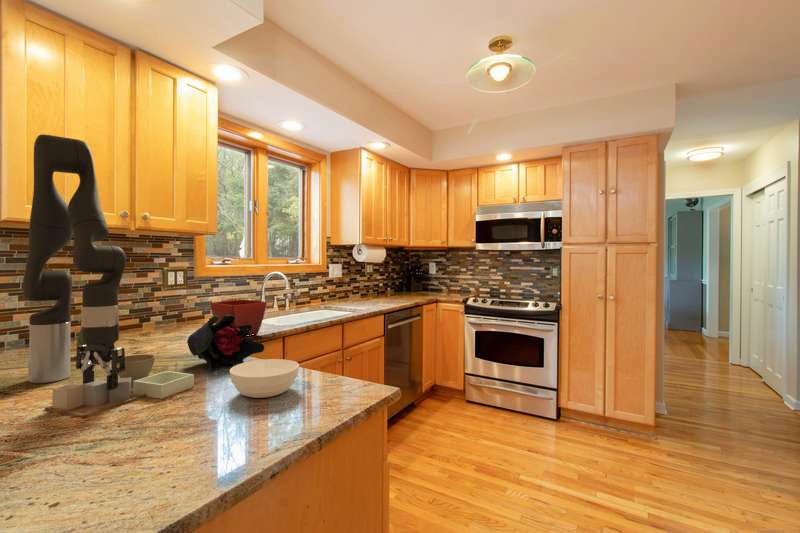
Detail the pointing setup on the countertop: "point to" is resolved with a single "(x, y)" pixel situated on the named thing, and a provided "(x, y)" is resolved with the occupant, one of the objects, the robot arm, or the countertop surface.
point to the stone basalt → (121, 391)
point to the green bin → (163, 384)
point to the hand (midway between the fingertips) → (100, 387)
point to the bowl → (264, 377)
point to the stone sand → (67, 396)
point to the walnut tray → (94, 407)
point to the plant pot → (241, 312)
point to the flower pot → (137, 366)
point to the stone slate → (95, 393)
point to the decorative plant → (223, 342)
